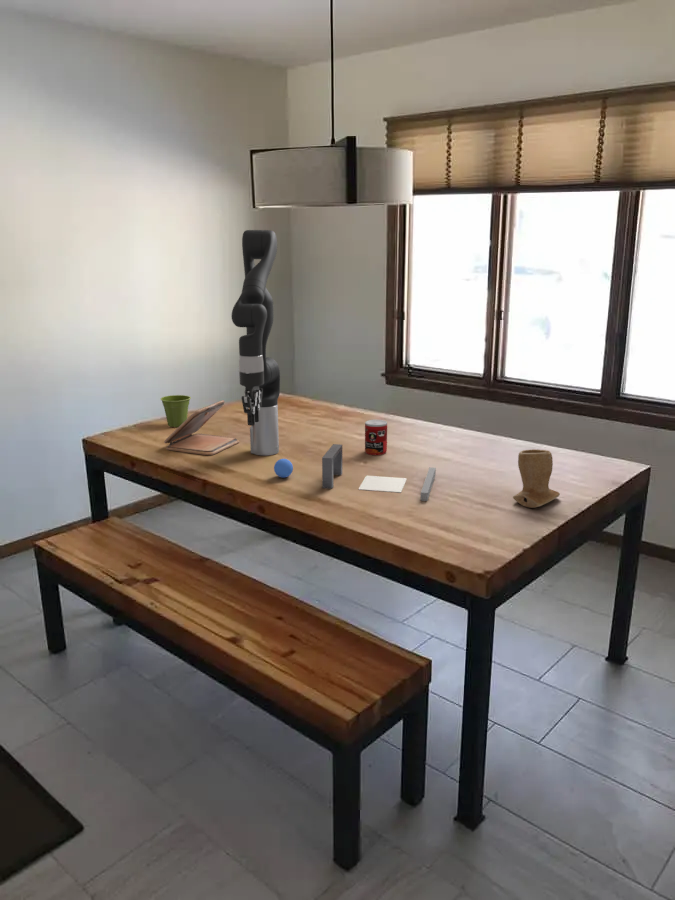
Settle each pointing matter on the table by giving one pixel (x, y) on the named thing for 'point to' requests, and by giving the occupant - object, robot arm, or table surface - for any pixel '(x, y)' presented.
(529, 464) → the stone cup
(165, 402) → the plant pot
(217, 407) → the case
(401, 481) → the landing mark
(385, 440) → the canned food
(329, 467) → the bridge
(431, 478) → the wall
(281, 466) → the ball
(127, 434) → the table surface
